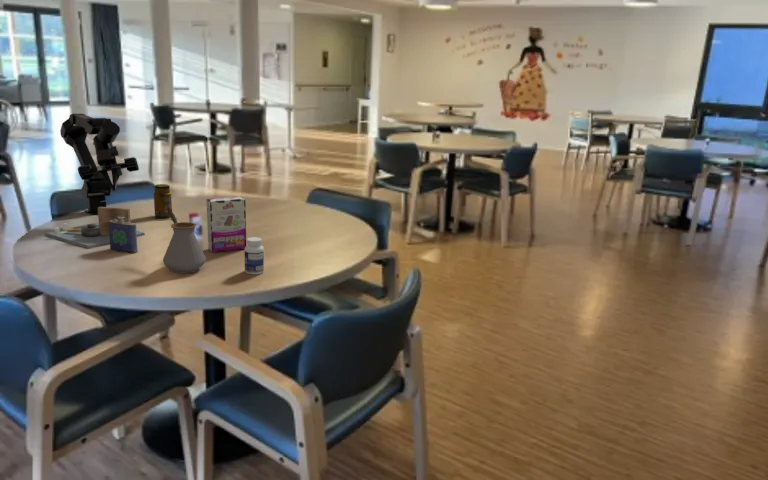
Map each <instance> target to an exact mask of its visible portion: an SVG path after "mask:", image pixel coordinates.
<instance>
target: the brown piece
mask: <svg viewBox="0 0 768 480" xmlns="http://www.w3.org/2000/svg"><path fill="white" fill-rule="evenodd" d="M130 210H131V209H130V208H123V207H121V208H120V207H110V206H109V207H108V206H106V207H98V214H97V216H98V222H99V225H96V224H91V223H88V225H86V224H85V225H86V226H82V225H81V226H82V227H81V229H70V228H71V227H68V229H67V232H80V233H82V235H83V236H98V235H109V236H110V234H109V221H110V220H115V219H116V220H119V219H118V217H125V218H124V222H129V223H131V211H130Z"/></svg>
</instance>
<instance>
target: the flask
mask: <svg viewBox="0 0 768 480" xmlns="http://www.w3.org/2000/svg"><path fill="white" fill-rule="evenodd" d="M124 218H125V217H118V219H119V220H116V219H115V220H110V221H109V234H110V244H109V249H110V251H114V252H122V253H126V254H127V253H129V254H136V253H138V252H139V251H138V249H139V248H138V241H137V240H138V237H137V235H136V231H137V224H136V223H135V222H130V223H129V222H124Z"/></svg>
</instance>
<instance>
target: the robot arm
mask: <svg viewBox="0 0 768 480" xmlns="http://www.w3.org/2000/svg"><path fill="white" fill-rule="evenodd" d="M120 132H121V128H120V126H119V125H118V124H117V123H116V122H114V121H112V119H111V118H106V117H91V116H90V115H87V114H84V113H70V114H69V117H68V118H67V119H66V120H65V121H63V122H62V123H61V126H60V136H61V138H63V141H64V142H65V144H66V145H68V146H70V147H71V148H72V149H73V152H74V154H75V156H76V157H77V161H78V162H79V166H78V168H77V171H78V174H79V177H80V179H81V180H82V181H83V184H82V187H81V190H80V192H81V195H82V197H83V198H86V199H87V200H86V201H87V209H86V210H84V213H87V214H91V215H98V207H107V200H106V198H107V197H110V196H111V191H112V192H116V191H117V186H118V181H119V179H120V176H123V171H122V169H126V171H128V172H130V173H132V172H139V171H140V168H139V164H138V160H137V158H136V157H134V156H132V157H127V158H126V157H125V158H124V159H123V161H124V162H119V163H118V161H117V159H116V157H119V156H120V153H119V150H118V146H117V145H113V143H114V142H115V141H116V139H117V137H118V135H119V133H120ZM88 135H91V136H92V135H93V136H94V135H95V136H94V137H93V139H92V140H93V142H92V143H93V145H94V149H95V155H96V160H97V165H98V166H97V165H96V162H95V161H94V158H93V156H92V153H91V151H90V149H89V147H88V145H87V143H86V141H87V137H88ZM110 171H111V177H112V179H111V177H110V175H109V173H108V172H110Z"/></svg>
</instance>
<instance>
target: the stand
mask: <svg viewBox="0 0 768 480" xmlns="http://www.w3.org/2000/svg"><path fill="white" fill-rule="evenodd" d="M88 224H89V223H88ZM88 224H87V223H86V224H82V225H77V226H73V227H69V224H68V223H65V222H64V223H62V229H60V228H59V227H54V229H53V230H52V231H48V232H45V237H46V236H47V237H50V238H53V239H57V240H60V241H63V242H66V243H70V244H74V245H77V246H79V247H83V248H87V249H93V248H97V247H101V246H106V245H110V236H109V235H98V236H83V235H82V233H80V232H67V229H68V228H70V229H81V227H82V226H86V225H88ZM90 224H96V225H99V221H98V222H92V223H90ZM136 235H137V238H138V236H139V237H142V235H143V236H145V232H143V231H140V230H136Z"/></svg>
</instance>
